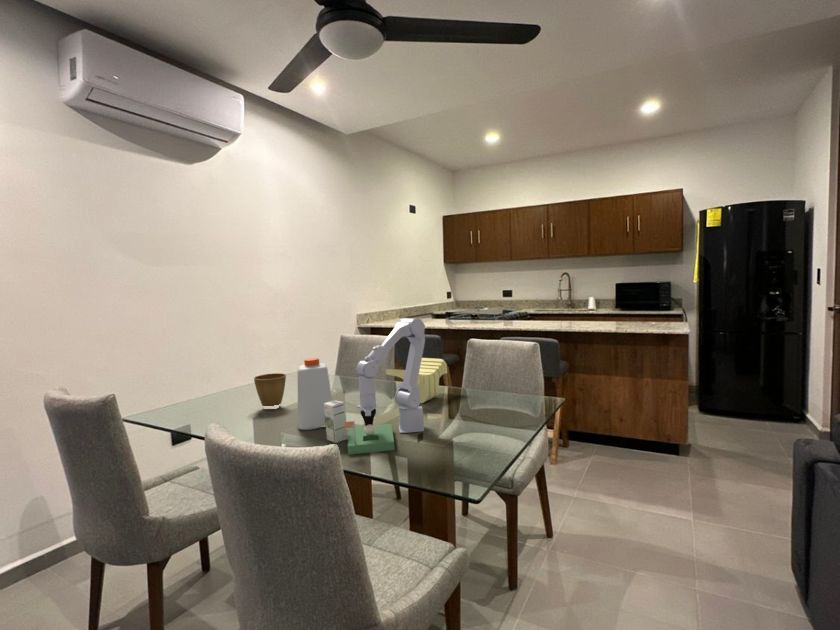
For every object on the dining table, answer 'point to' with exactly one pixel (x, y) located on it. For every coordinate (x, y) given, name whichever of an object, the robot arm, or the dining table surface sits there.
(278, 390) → the plant pot
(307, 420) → the plastic bottle
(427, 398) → the slatted curved stool
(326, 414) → the syrup box
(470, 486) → the dining table surface
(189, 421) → the dining table surface
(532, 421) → the dining table surface
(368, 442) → the green slotted block
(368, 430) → the ball
